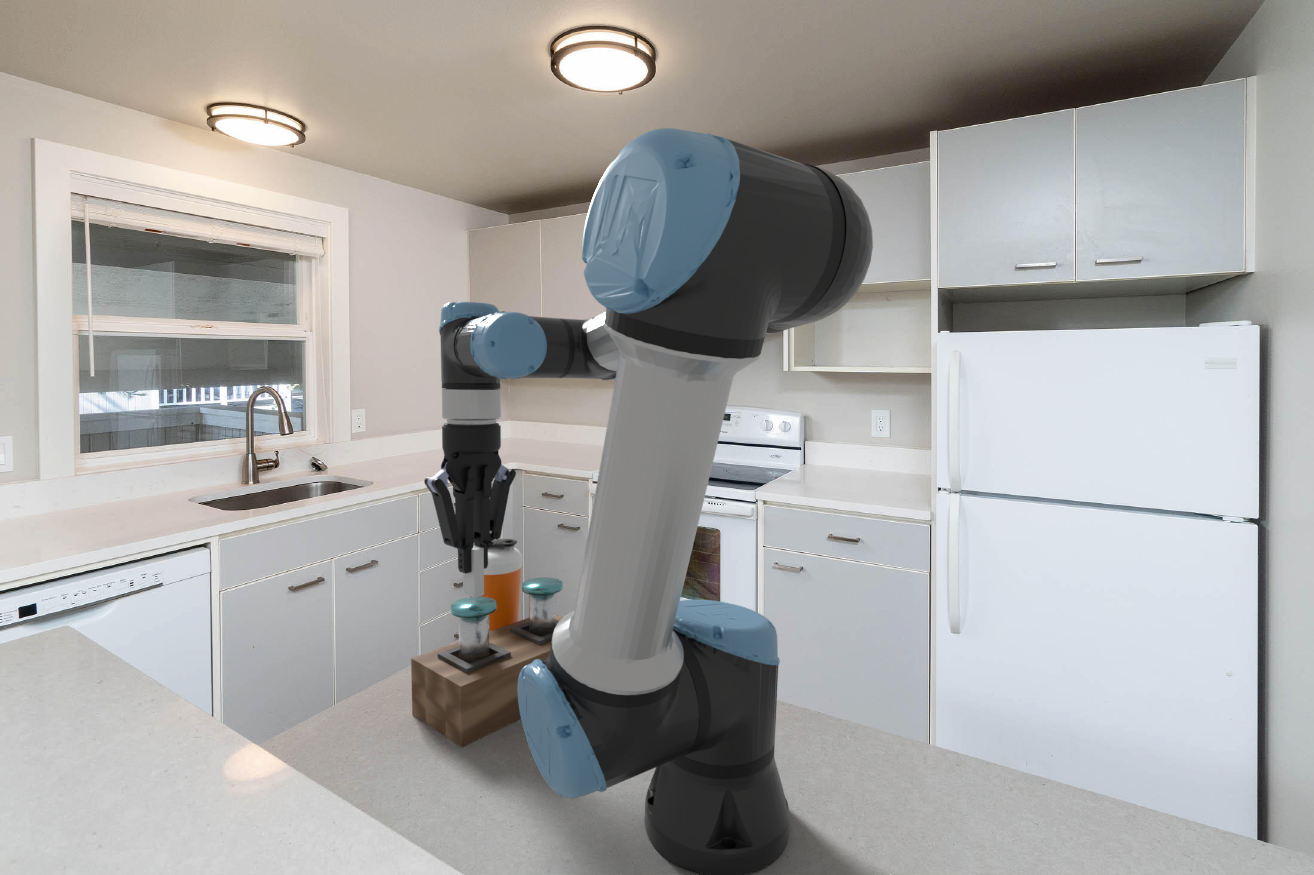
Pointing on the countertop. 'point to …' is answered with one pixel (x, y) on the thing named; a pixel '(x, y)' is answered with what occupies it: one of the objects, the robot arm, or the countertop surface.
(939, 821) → the countertop surface
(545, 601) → the peg right
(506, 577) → the shaker bottle
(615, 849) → the countertop surface
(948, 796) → the countertop surface
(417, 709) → the socket block
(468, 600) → the peg left
